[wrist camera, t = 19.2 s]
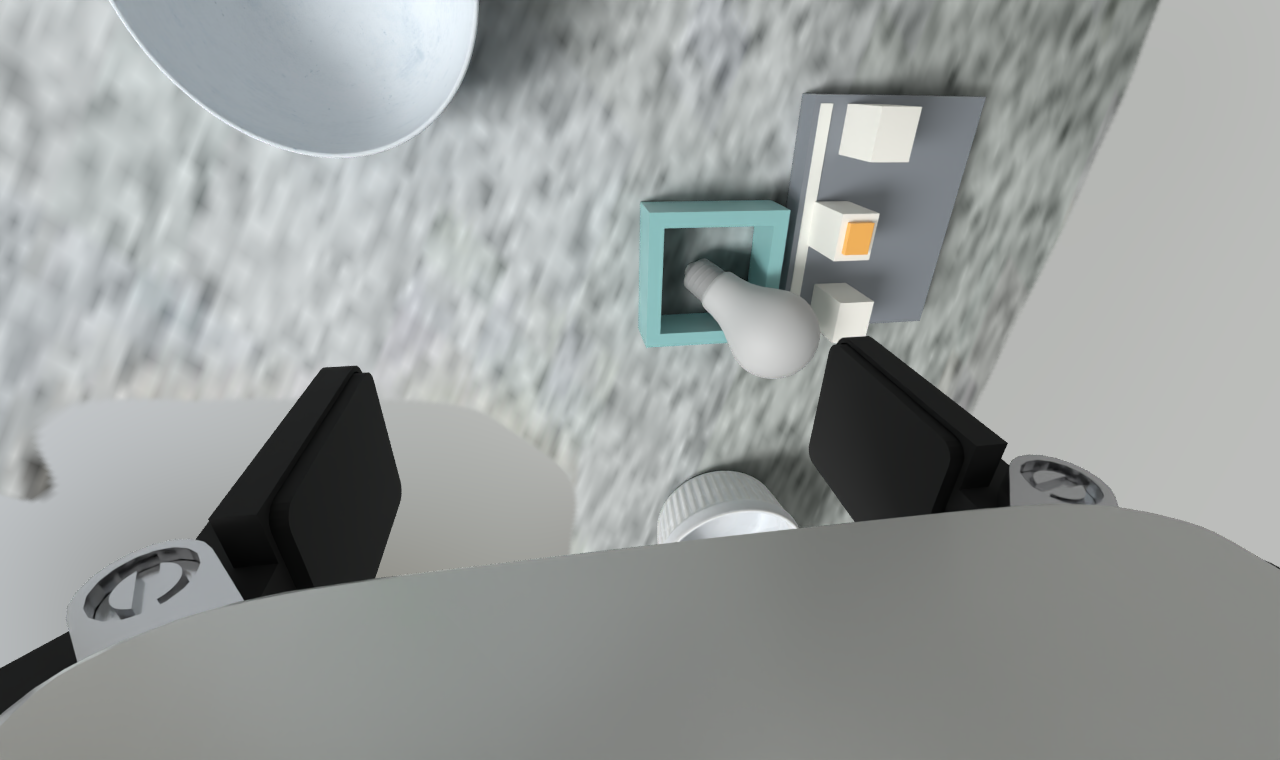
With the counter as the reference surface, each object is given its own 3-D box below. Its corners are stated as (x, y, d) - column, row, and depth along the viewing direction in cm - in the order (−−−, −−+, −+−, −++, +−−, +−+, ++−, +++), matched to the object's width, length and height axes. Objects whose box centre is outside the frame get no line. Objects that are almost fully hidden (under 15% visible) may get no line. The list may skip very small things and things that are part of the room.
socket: (640, 201, 37) (649, 212, 34) (770, 199, 38) (790, 210, 35) (638, 327, 41) (646, 347, 38) (754, 322, 43) (770, 340, 40)
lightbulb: (714, 214, 36) (848, 313, 33) (717, 255, 42) (831, 342, 39) (652, 279, 36) (781, 386, 32) (665, 311, 41) (775, 404, 38)
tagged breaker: (814, 201, 37) (846, 215, 33) (848, 201, 37) (883, 214, 33) (807, 244, 38) (836, 263, 34) (839, 243, 38) (872, 261, 35)
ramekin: (623, 541, 53) (633, 600, 47) (690, 440, 48) (711, 491, 42) (730, 570, 57) (752, 627, 51) (801, 480, 53) (835, 532, 47)
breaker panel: (802, 93, 35) (848, 95, 30) (965, 96, 37) (1034, 98, 32) (769, 318, 43) (801, 351, 38) (904, 311, 45) (952, 341, 39)
